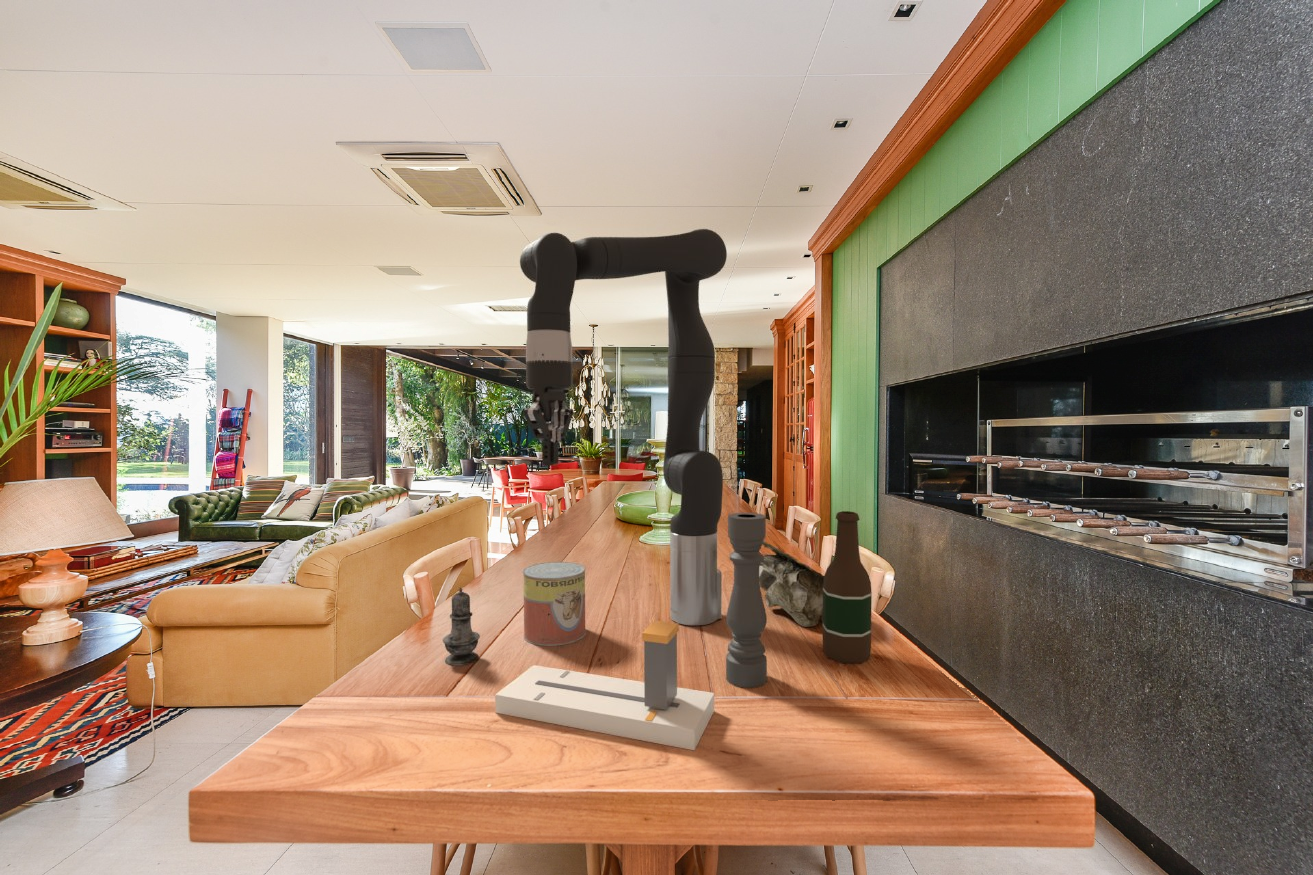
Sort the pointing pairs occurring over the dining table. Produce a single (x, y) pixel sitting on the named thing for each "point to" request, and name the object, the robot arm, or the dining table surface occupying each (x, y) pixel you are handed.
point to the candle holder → (746, 602)
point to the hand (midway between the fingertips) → (550, 464)
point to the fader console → (605, 706)
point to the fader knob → (660, 664)
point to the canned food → (554, 603)
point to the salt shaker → (461, 632)
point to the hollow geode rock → (792, 587)
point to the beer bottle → (847, 597)
